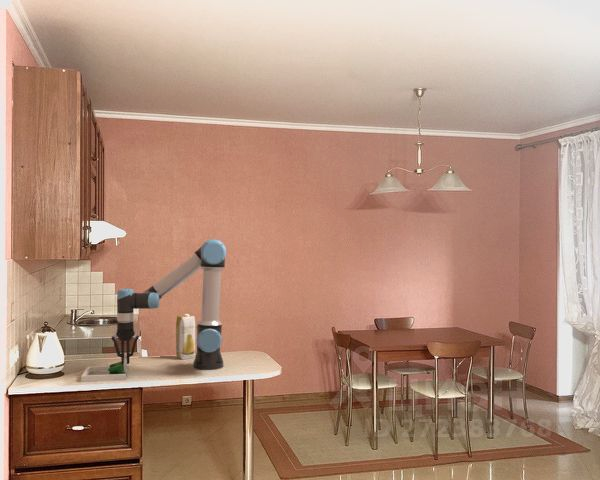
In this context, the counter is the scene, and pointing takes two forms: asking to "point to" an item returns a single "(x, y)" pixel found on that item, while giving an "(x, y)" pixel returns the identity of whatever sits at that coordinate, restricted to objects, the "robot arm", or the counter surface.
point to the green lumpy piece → (116, 368)
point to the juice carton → (185, 337)
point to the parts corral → (88, 378)
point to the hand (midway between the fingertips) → (125, 370)
